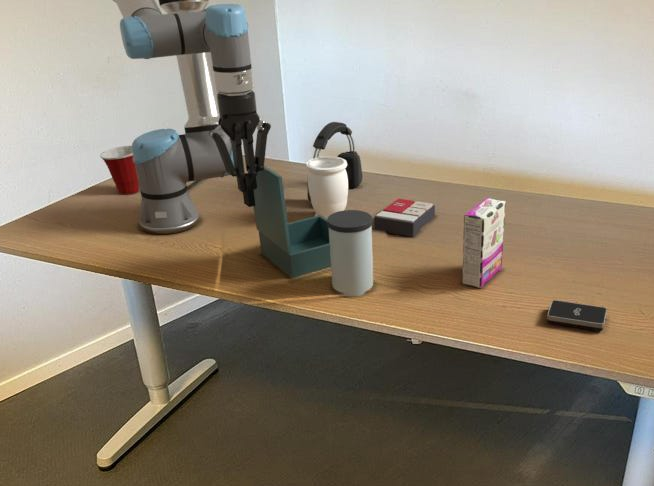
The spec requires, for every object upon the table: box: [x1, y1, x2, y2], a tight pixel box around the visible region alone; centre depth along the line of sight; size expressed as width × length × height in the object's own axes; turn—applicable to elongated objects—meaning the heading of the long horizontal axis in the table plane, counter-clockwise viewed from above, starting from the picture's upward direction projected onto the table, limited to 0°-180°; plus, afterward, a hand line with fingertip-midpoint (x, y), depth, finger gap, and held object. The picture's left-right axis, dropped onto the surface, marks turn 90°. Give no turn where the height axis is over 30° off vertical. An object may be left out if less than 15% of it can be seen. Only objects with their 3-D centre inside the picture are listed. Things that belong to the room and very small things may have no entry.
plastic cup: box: [99, 145, 140, 195], centre depth 208 cm, size 11×11×12 cm
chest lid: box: [252, 165, 291, 254], centre depth 159 cm, size 17×17×1 cm
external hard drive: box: [546, 299, 608, 332], centre depth 145 cm, size 7×11×2 cm, turn 70°
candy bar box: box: [461, 197, 507, 289], centre depth 157 cm, size 11×5×16 cm, turn 148°
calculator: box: [373, 198, 436, 237], centre depth 187 cm, size 11×4×15 cm
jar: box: [306, 156, 349, 219], centre depth 188 cm, size 11×10×15 cm
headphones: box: [306, 121, 363, 204], centre depth 201 cm, size 22×6×20 cm, turn 152°
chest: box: [258, 215, 331, 279], centre depth 169 cm, size 17×17×6 cm
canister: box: [327, 209, 374, 298], centre depth 154 cm, size 9×9×16 cm
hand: (249, 204), depth 156 cm, fingers closed
